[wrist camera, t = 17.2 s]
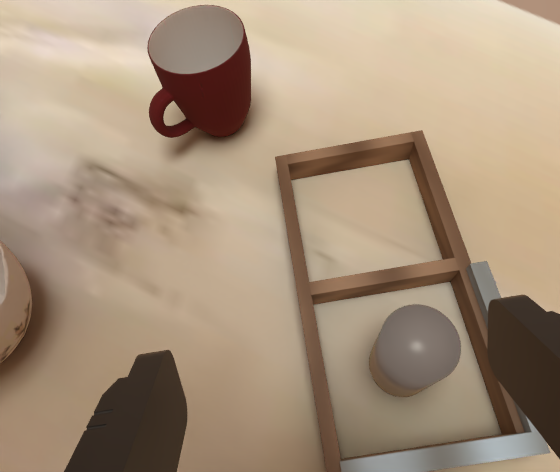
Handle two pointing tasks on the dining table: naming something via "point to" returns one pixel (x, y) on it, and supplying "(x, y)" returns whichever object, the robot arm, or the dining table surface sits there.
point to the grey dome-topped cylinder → (414, 350)
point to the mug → (201, 70)
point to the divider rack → (453, 268)
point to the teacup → (12, 302)
